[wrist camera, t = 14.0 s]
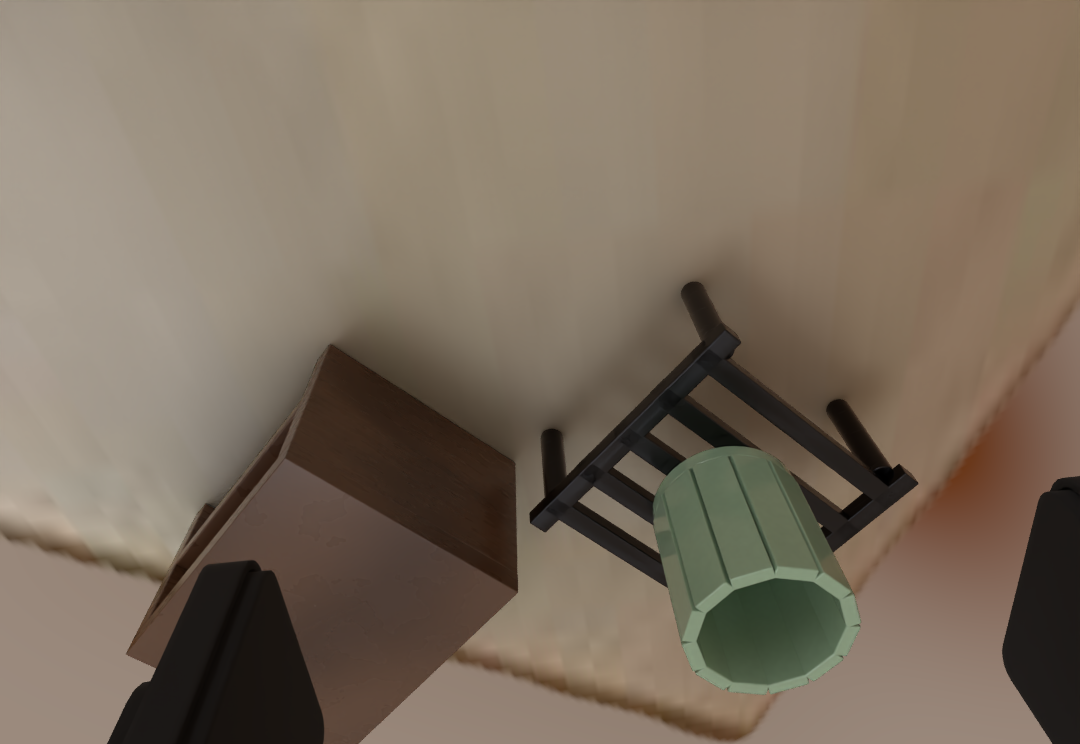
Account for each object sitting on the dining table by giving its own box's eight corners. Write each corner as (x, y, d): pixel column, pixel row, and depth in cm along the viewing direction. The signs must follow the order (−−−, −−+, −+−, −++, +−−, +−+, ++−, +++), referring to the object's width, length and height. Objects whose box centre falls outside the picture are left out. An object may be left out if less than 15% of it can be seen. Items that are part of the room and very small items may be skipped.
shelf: (195, 516, 47) (125, 654, 38) (330, 343, 42) (284, 457, 33) (373, 610, 51) (346, 755, 42) (515, 462, 46) (518, 592, 37)
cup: (622, 515, 39) (647, 647, 32) (725, 419, 37) (776, 539, 30) (723, 580, 42) (767, 717, 35) (826, 494, 39) (895, 622, 32)
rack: (525, 440, 46) (529, 523, 39) (692, 265, 41) (725, 329, 35) (695, 551, 50) (721, 642, 44) (863, 405, 45) (919, 484, 39)
